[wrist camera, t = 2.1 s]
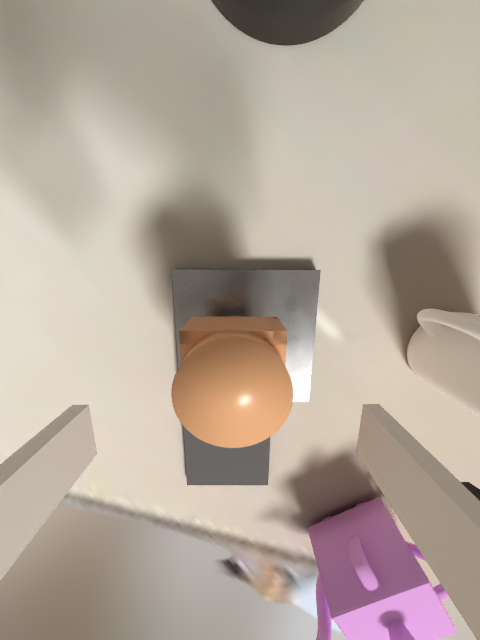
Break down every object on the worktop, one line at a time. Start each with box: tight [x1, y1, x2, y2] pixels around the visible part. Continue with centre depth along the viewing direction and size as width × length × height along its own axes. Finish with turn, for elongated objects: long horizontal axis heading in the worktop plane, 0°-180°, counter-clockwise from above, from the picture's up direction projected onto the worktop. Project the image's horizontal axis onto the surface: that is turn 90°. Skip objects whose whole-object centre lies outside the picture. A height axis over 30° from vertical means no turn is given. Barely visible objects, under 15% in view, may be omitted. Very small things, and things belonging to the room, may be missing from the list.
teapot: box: [307, 497, 457, 640], centre depth 25 cm, size 18×14×10 cm
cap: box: [172, 316, 293, 448], centre depth 16 cm, size 7×7×6 cm
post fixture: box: [172, 269, 320, 402], centre depth 19 cm, size 14×14×9 cm
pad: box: [183, 426, 270, 485], centre depth 27 cm, size 10×10×1 cm
